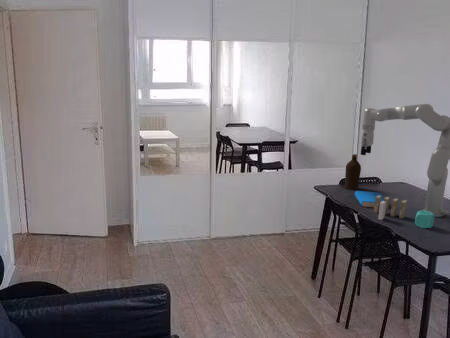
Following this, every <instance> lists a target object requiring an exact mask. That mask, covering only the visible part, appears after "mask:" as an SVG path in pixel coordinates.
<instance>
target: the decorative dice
mask: <svg viewBox="0 0 450 338" xmlns="http://www.w3.org/2000/svg"><path fill="white" fill-rule="evenodd" d="M434 222H435V217H434V214H433V213H432V212H429V211H422V210H418V211H417V212H416V215H415V218H414V224H415V225H416V227H418V228H421V229H426V228H429V229H431V228H433V225H434Z"/></svg>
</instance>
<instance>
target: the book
mask: <svg viewBox="0 0 450 338" xmlns="http://www.w3.org/2000/svg"><path fill="white" fill-rule="evenodd" d="M378 195H380V196H381V202H382V201H384V198H385V197H386V196H384V195H383V194H382V193H381V192H377V191H364V190H355V192H354V196H355V198H356V199H357V200H358V203H359V204H360V205H361V207H364V208H374V206H375V198H376V196H378Z"/></svg>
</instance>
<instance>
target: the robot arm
mask: <svg viewBox="0 0 450 338" xmlns="http://www.w3.org/2000/svg"><path fill="white" fill-rule="evenodd" d="M362 117H363V120H362V128H361V129H362V130H363V131H362V134H361V145H360V146H361V147H360V155H361V156H366V155H367V154H371V153H372V145H374V136H375V128H376V121H377V122H384V121H385V122H386V121H392V120H403V121H407V120H408V121H409V120H420V121H422V122H423V123H424V124H425V125H427V126H428V127H429V128H431V129H433V130H434V131H436V132H440V136H439V140H438V143H437V147H436V148H435V149H434V150H433V151H432V153H431V156H430V160H429V164H428V166H427V167H428V168H427V171H426V174H427V175H426V176H427V178H428V184H427V188H426V189H427V190H426V197H425V202H424V203H425V205H424V208H423V209H421V211H429V212H432V213H433V214H434V218H435V217H436V218H441V217H444V216H445V215H447V216H448V215H450V211H449V210H446V209H445V208H444V207H443V205H444V204H443V203H444V197H445V190H446V185H447V179H448V176H449V175H448V174H449V169H448V163H449V161H450V117H449V116H448V115H440V114H439V113H438V112H436V111H435V110H434V107H433V106H432V105H431V104H428V103H420V104H412V105H405V106H404V105H403V106H398V107H397V106H396V107H389V108H387V107H386V108H381V109H376V108H373V107H371V108H370V107H369V108H368V107H367V108H365V109H364V110H363V116H362Z"/></svg>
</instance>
